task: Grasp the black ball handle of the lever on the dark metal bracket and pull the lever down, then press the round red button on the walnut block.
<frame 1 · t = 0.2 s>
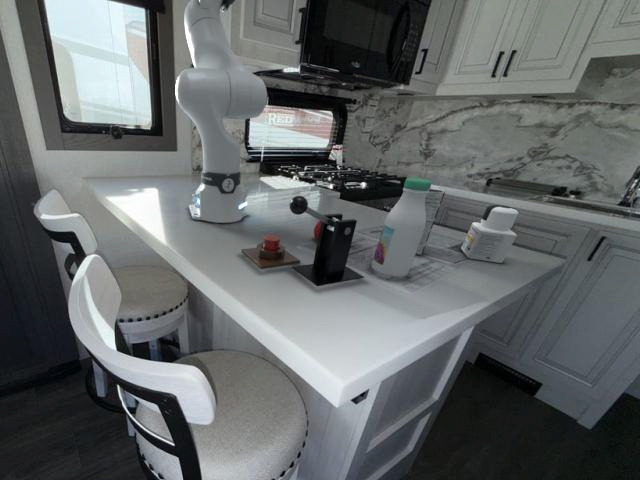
button: (271, 243, 69), point 4 cm above the worktop, slide at 0.1 cm
container: (479, 256, 82), on the worktop
candy bar box: (406, 248, 85), on the worktop
button block: (269, 261, 71), on the worktop
milk bottle: (387, 273, 69), on the worktop
bracket: (326, 276, 66), on the worktop
tomato: (327, 245, 83), on the worktop
lever: (318, 216, 57), point 13 cm above the worktop, hinge at 25.0°
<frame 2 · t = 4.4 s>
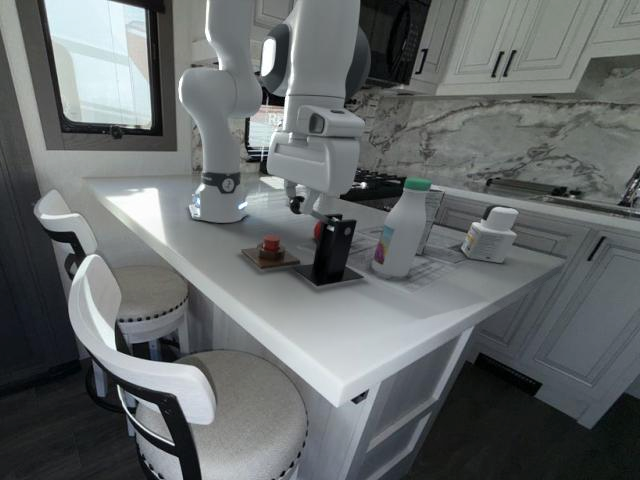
hand: (298, 210, 54), 15 cm above the worktop, tool pointing down, fingers closed on lever, 3 cm apart
lever: (318, 216, 57), point 13 cm above the worktop, hinge at 25.1°, touching gripper
everything else where it was.
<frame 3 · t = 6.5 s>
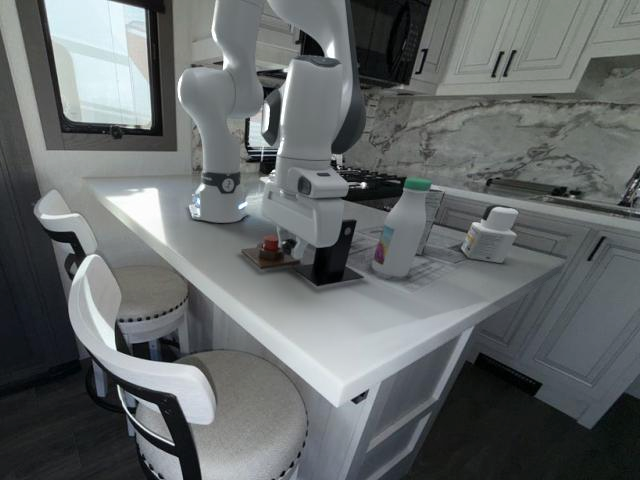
hand: (289, 253, 58), 7 cm above the worktop, tool pointing down, fingers closed on lever, 3 cm apart
lever: (313, 236, 59), point 9 cm above the worktop, hinge at -16.5°, touching gripper
everything else where it was.
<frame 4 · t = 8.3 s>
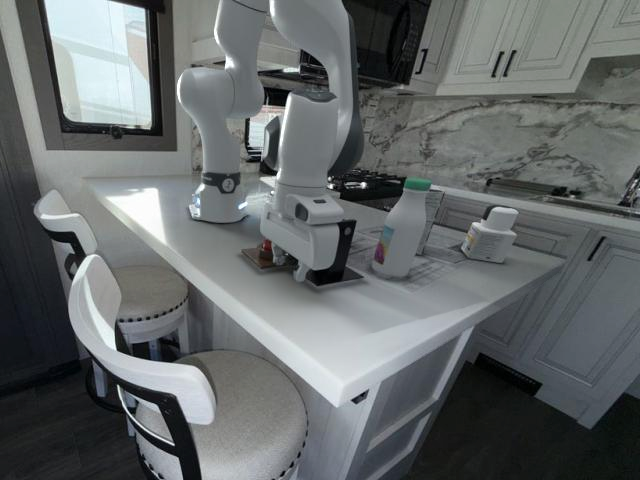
hand: (287, 271, 61), 3 cm above the worktop, tool pointing down, fingers open, 6 cm apart
lever: (314, 242, 60), point 8 cm above the worktop, hinge at -30.4°
everything else where it was.
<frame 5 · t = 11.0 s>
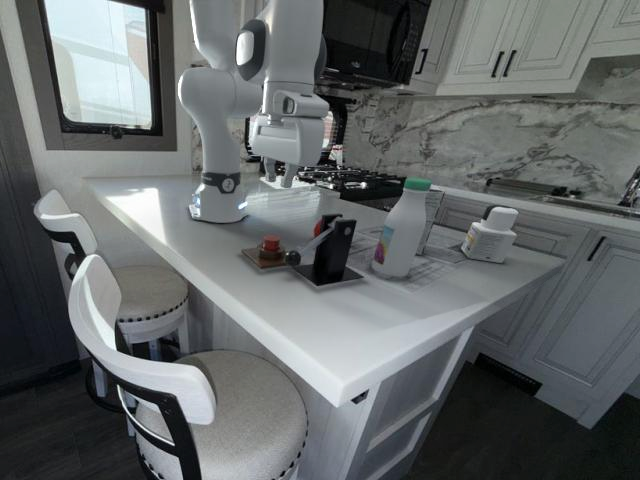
hand: (277, 184, 62), 17 cm above the worktop, tool pointing down, fingers open, 5 cm apart
nothing on the worktop moved.
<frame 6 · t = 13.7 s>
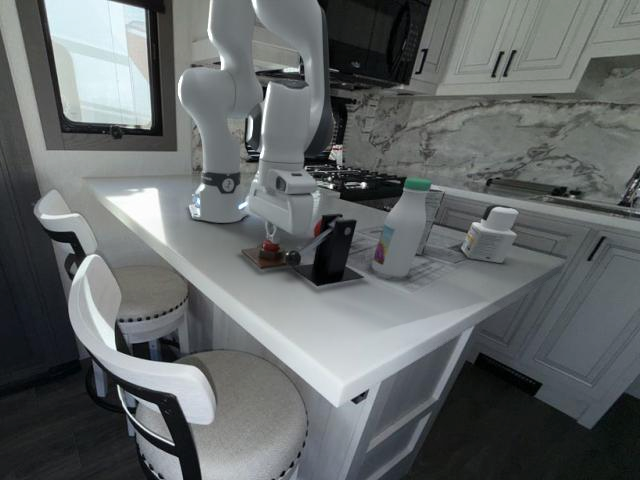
hand: (272, 241, 69), 5 cm above the worktop, tool pointing down, fingers closed, pressing on button
button: (270, 247, 69), point 4 cm above the worktop, slide at -0.7 cm, touching gripper
everything else where it was.
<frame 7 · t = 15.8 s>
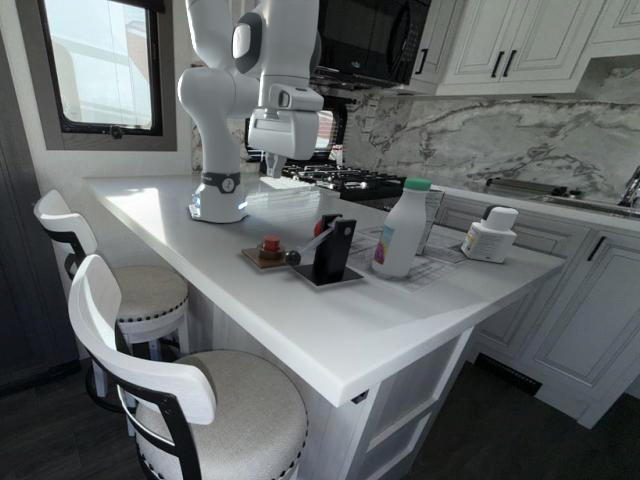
hand: (273, 177, 64), 18 cm above the worktop, tool pointing down, fingers closed
button: (271, 243, 69), point 4 cm above the worktop, slide at 0.1 cm
everything else where it was.
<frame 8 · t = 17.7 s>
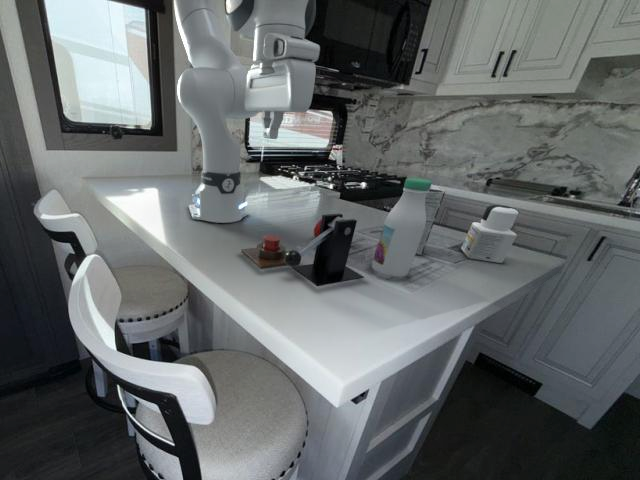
hand: (270, 138, 62), 25 cm above the worktop, tool pointing down, fingers closed
nothing on the worktop moved.
at the end: lever at -30° (first picture: +25°); button pushed in 1.1 cm at the most during the clip, back to where it started at the end; button slide at 0.1 cm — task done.
